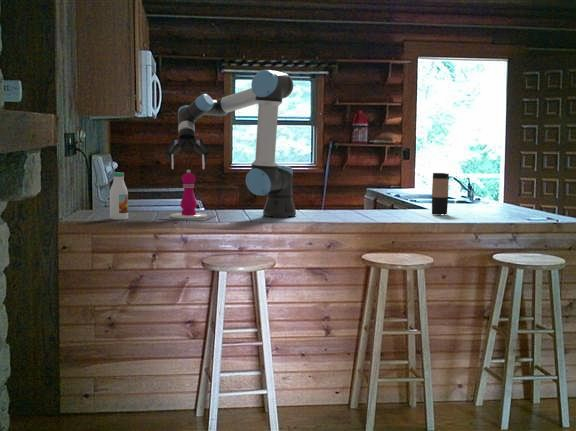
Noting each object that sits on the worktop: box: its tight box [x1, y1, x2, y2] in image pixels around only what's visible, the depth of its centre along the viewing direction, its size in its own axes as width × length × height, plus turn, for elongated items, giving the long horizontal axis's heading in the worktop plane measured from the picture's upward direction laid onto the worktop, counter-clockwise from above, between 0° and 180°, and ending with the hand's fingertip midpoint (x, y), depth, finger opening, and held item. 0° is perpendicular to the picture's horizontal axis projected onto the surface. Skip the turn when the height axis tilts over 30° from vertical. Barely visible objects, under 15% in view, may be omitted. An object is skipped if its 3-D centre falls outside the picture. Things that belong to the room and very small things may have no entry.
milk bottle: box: [109, 172, 129, 221], centre depth 308 cm, size 8×8×20 cm
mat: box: [159, 214, 217, 222], centre depth 317 cm, size 20×20×1 cm
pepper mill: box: [179, 169, 198, 215], centre depth 315 cm, size 7×7×20 cm
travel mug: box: [431, 172, 450, 215], centre depth 346 cm, size 8×8×20 cm
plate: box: [169, 212, 208, 219], centre depth 317 cm, size 16×16×1 cm
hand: (188, 167), depth 317 cm, fingers open, 13 cm apart
